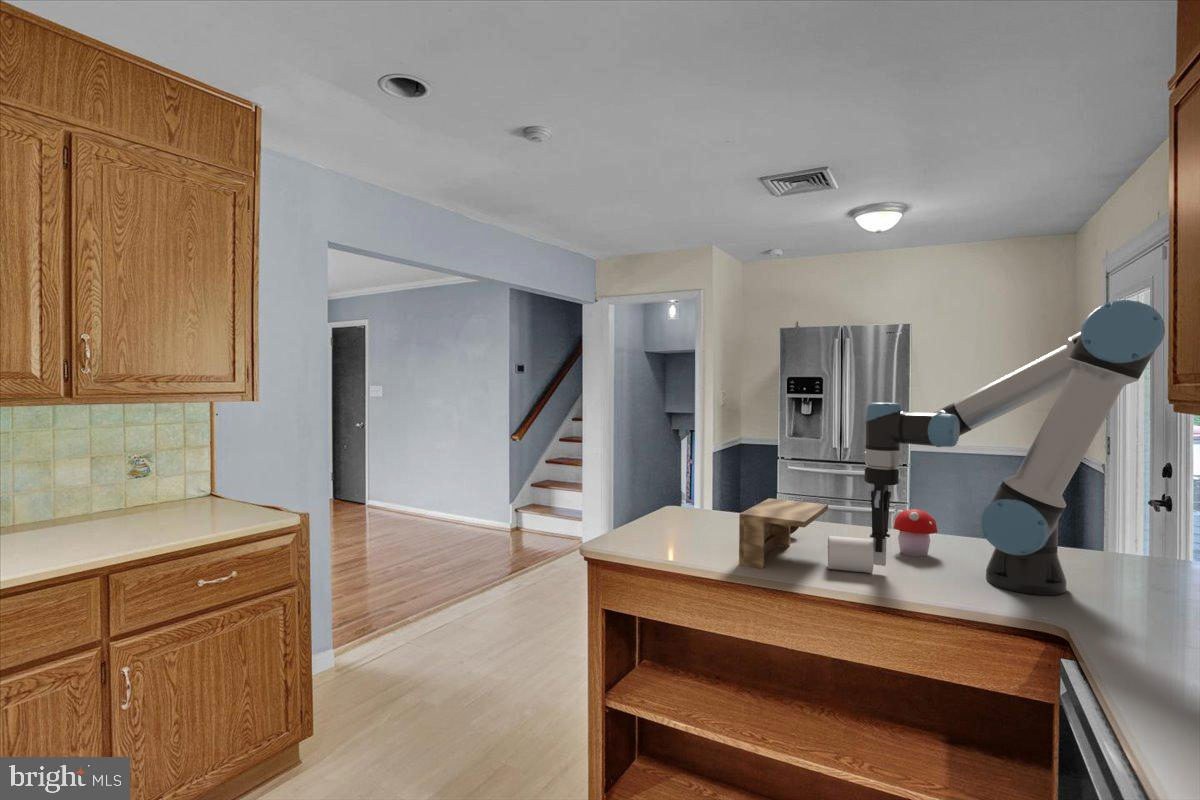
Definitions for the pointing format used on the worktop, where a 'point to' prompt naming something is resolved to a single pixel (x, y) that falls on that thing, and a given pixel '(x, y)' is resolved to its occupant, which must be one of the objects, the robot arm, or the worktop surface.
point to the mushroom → (914, 531)
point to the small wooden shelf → (772, 527)
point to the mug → (850, 554)
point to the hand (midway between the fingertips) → (879, 564)
